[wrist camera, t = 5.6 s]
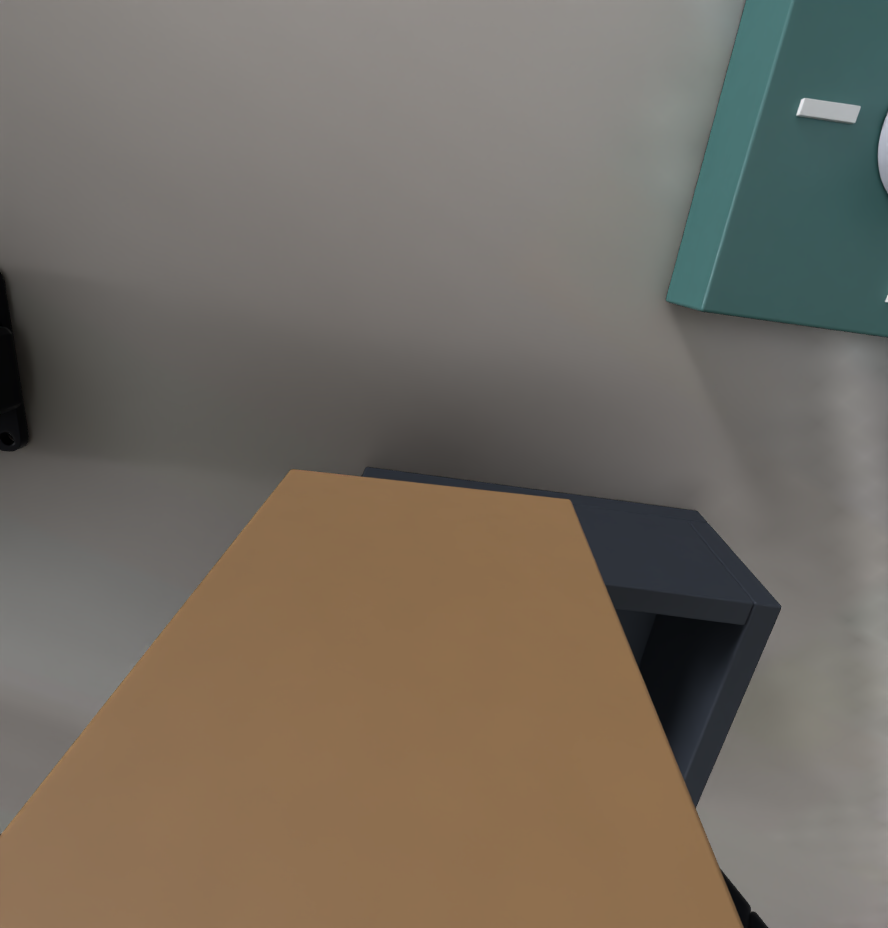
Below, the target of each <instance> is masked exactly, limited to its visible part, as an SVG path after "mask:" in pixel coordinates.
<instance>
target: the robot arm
mask: <svg viewBox="0 0 888 928" xmlns="http://www.w3.org/2000/svg"><path fill="white" fill-rule="evenodd" d="M8 433H10V434H11V435H12V436H13V438H14V441H13V440H12V439H11V438H10V437H9V435H8ZM28 441H29V435H28V429H27V422H26V416H25V410H24V403H23V397H22V390H21V384H20V377H19V371H18V365H17V358H16V352H15V345H14V339H13V333H12V326H11V320H10V313H9V307H8V300H7V294H6V288H5V281H4V279H3V276H2V274H1V273H0V450H2V451H16V450H18V449H20V448H22V447H24V446H26V445H27V443H28ZM1 834H2V833H1ZM1 834H0V835H1ZM720 870H721V869H720ZM721 873H722V875H723V878H724V880H725V883H726V885H727V888H728V890H729V892H730V895H731V897H732V900H733V902H734V905H735V907H736V910H737V912H738V915H739V917H740V920H741V922H742V925H743V927H744V928H768V927H767V926H766V924H765V923H764V922H763V921H762V919H761V918H760V917H759V916H758V914H757V913H756V912H751V907H750V905H749V904H748V902H747V901H746V900H745V899H744V897H743V896H742V895H741V894H740V892H739V891H738V890H737V889H736V887H735V886H734V885H733V884H732V883H731V881H730V880H729V879H728V878H727V876H726V875H725V874H724V873H723V871H722V870H721ZM750 912H751V913H750Z"/></svg>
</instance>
